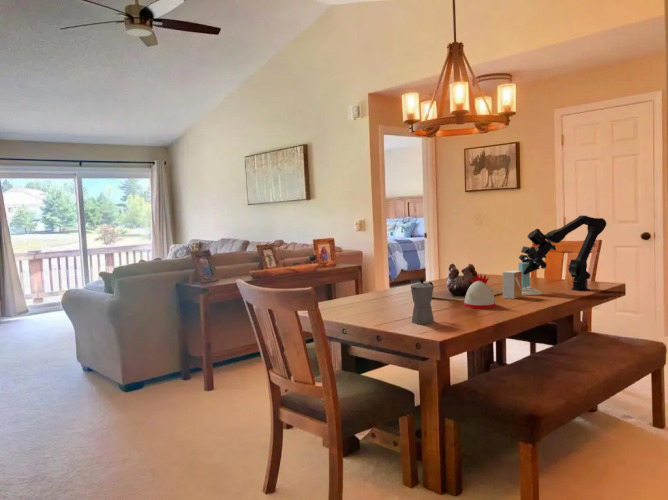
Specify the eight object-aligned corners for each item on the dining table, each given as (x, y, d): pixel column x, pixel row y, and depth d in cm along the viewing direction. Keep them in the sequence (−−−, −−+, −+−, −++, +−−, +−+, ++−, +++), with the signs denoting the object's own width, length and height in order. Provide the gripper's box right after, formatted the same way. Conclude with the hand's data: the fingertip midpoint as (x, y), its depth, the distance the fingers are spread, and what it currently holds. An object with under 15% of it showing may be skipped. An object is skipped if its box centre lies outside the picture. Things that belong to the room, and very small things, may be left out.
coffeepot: (424, 326, 206) (423, 281, 204) (404, 323, 212) (403, 279, 210) (443, 319, 217) (442, 276, 216) (423, 316, 223) (422, 275, 222)
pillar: (525, 285, 271) (525, 262, 270) (529, 286, 267) (529, 263, 266) (518, 285, 271) (518, 262, 270) (522, 286, 267) (522, 263, 266)
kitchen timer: (490, 309, 232) (489, 276, 231) (460, 307, 240) (459, 275, 238) (498, 304, 244) (498, 272, 243) (470, 302, 251) (469, 271, 250)
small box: (514, 299, 255) (514, 272, 254) (502, 297, 259) (502, 271, 258) (522, 296, 260) (522, 270, 259) (510, 295, 265) (510, 270, 264)
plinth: (529, 290, 276) (529, 285, 276) (541, 294, 264) (541, 288, 264) (507, 292, 274) (507, 286, 274) (518, 295, 263) (518, 290, 262)
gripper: (522, 239, 277) (502, 261, 276) (540, 241, 258) (520, 265, 258) (536, 253, 278) (516, 275, 278) (555, 256, 260) (535, 280, 259)
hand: (521, 273), depth 268 cm, fingers closed on pillar, 4 cm apart
